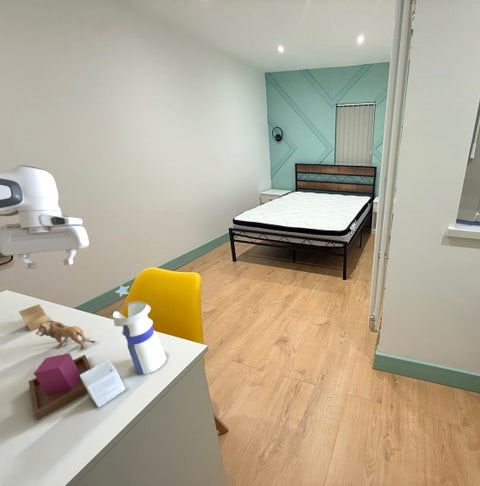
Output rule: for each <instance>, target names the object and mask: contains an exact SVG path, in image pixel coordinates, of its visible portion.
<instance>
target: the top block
mask: <svg viewBox="0 0 480 486" xmlns="http://www.w3.org/2000/svg"><path fill="white" fill-rule="evenodd" d="M73 360H74V359H73V357H72V355H71V353H70V352H67V353H63V354H57V355H52V356H48V357H45V358H44V359H43V361H42V362H41V363H40V365H39V366H37V368H36V369H35V371H34V372H33V375H34V376H35V378H37V380H38V381H39V383H40V384H41V386H42V387H43V389H44V391H45V392H46V394H47V395H52V394H57V393H61V392H65V391H69V390H72V388H73V387H74V385H75V383H76V382H77V380H78V378H79V377H80V375H81V374H80V372H79V370H78V368H77V366H76V364H75V363H74V361H73Z"/></svg>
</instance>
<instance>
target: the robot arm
mask: <svg viewBox="0 0 480 486" xmlns="http://www.w3.org/2000/svg"><path fill="white" fill-rule="evenodd" d="M17 215H18V218H19V219H18V220H19V222H17V223H7V224H4V225H3V226H1V227H0V254H2V255H3V256H5V257H6V256H7V257H8V256H17V258H18V260H19V261H20V262H21V263H22V264H24V268H25V269H26V270H33V269H36V268H37V263H36V262H35V261H34V262H32V260H31V259H30V258H31V255H30V254H39V253H49V252H59V251H60V252H61V251H65V254H67V256H66V258H65V259H63V260H62V261H63V265H64V266H70V265H73V264H74V257H75V256H76V254H77V250H80V249H81V250H82V249H87V248H88V247H89V245H90V240H89V236H88V233H87V230H86V228H85V227H84V226H83V224H84V223H83V219H82V218H79V217H74V216H69V215H64V214H62V210H61V207H60V206H59V191H58V187H57V183H56V180H55V179H54V176H53V175H52V174H51V173H50V172H49V171H47V170H45V169H43V168H40V167H35V166H30V165H14V166H12V167H11V168H9V169H7V170H4V171H1V172H0V217H13V216H17Z"/></svg>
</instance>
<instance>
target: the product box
mask: <svg viewBox="0 0 480 486" xmlns="http://www.w3.org/2000/svg"><path fill="white" fill-rule="evenodd" d="M91 368H92V369H90V370H88V371H86V372H84V373H83V374H81V375H80V378H81V380H82V382H83V384H84V385H85V387H86V389H87V391H88V392H87V393H88V395H89V396H90V398H91V399H92V400H93V402H94V404H95V405H96V407H97V408H100V407H101V406H103V405H105V404H106V403H108V402H109V401H111V400H112V399H113V398H115V397H116V396H118V395H119V394H121V393H122V392H124V391H125V390H126V387H125V385H124V383H123V381H122V379H121V376H120V374H119V372H118V370H117V368H116V367H115V366H114V365H113V364H112V363H111V362H110V360H109V359H106V360H103V362H101V363H98V365H95V366H93V367H91Z"/></svg>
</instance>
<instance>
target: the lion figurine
mask: <svg viewBox="0 0 480 486" xmlns="http://www.w3.org/2000/svg"><path fill="white" fill-rule="evenodd" d="M39 325H40V327H38V328H37V329H38V330H37V331H36V332H35V335H36V336H39V337H44V336H46V337H50V338H52V339H55V341H56V342H57V343H59V344H58V345H57V347H58V348H62V347H63V346H65V343H64V342H67V341H70V339H71V340H72V341H73V342H74V343H76V344H78V345H80V349H81V350H83V349H85V348H87V345H86V344H85V342H87V343H91V344H95V343H96V340H89V339H88V338H87V337H86V336H85V334H84V331H83V329H82V328H81V327H79V326H76V325H74V326H69V325H64V324H63V323H62V322H60V321H57V320H49V321H44V322H41V323H40V324H39ZM79 336H80V337H81V340H80V338H79ZM62 338H64V341H63V340H62Z"/></svg>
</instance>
